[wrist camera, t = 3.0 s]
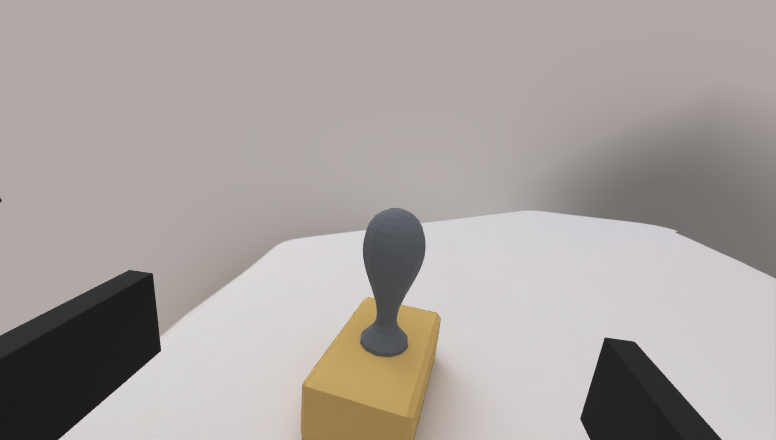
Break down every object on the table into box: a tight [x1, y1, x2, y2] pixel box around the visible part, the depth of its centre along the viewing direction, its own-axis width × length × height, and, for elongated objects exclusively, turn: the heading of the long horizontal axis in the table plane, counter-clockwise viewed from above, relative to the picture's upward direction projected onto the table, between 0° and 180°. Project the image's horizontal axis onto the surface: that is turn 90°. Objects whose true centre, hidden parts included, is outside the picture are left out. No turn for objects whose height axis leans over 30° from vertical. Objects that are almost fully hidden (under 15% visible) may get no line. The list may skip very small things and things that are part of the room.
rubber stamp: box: [301, 208, 441, 440], centre depth 21 cm, size 10×6×12 cm, turn 164°
